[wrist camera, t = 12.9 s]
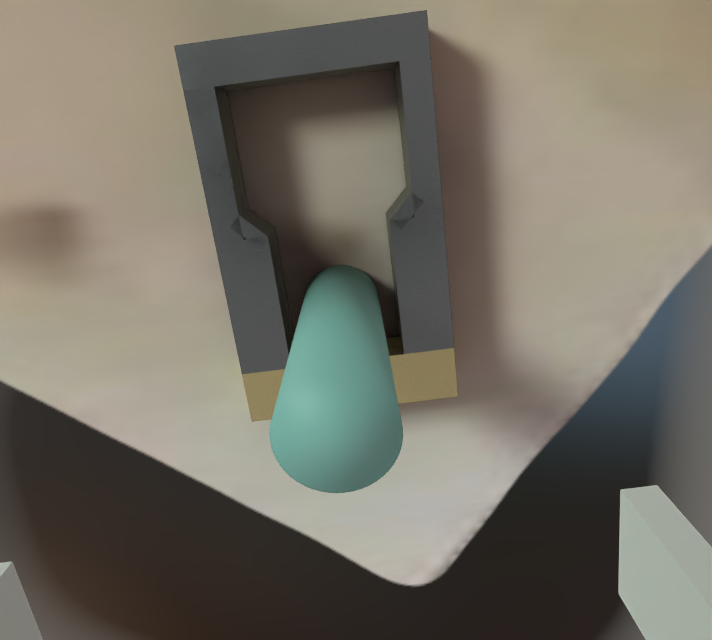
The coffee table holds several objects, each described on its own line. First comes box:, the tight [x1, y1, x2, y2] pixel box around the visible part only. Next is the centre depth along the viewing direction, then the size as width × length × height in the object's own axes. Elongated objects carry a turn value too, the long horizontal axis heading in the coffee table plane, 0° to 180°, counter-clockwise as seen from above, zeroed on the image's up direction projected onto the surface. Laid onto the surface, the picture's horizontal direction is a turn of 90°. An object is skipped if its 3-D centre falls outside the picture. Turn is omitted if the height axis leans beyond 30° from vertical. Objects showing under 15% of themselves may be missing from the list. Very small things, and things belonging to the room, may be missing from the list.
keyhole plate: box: [174, 10, 458, 422], centre depth 31 cm, size 20×12×3 cm, turn 7°
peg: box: [270, 265, 403, 493], centre depth 26 cm, size 4×4×16 cm
